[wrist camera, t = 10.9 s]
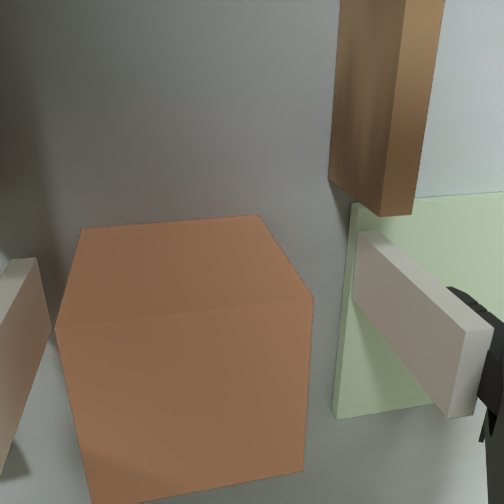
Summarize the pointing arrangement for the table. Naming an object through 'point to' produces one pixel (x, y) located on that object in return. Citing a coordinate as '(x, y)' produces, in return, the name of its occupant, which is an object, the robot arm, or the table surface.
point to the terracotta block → (184, 357)
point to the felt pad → (436, 264)
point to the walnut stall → (382, 99)
